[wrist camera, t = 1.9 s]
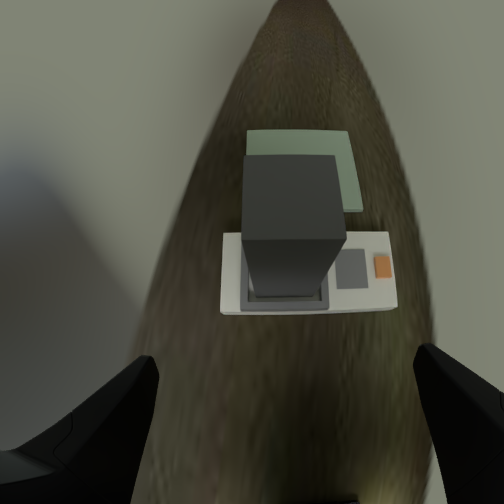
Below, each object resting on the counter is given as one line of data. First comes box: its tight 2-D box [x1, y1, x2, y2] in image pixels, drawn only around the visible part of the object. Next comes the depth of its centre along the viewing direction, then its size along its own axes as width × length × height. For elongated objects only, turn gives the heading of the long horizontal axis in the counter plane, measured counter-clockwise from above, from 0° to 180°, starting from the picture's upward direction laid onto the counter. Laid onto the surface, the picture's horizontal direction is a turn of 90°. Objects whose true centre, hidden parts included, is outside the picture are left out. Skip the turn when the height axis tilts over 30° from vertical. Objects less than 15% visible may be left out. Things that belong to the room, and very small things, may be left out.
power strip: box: [220, 232, 398, 315], centre depth 22 cm, size 6×13×2 cm, turn 89°
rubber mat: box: [246, 130, 363, 212], centre depth 26 cm, size 9×10×1 cm
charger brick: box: [241, 154, 347, 298], centre depth 17 cm, size 4×4×10 cm
